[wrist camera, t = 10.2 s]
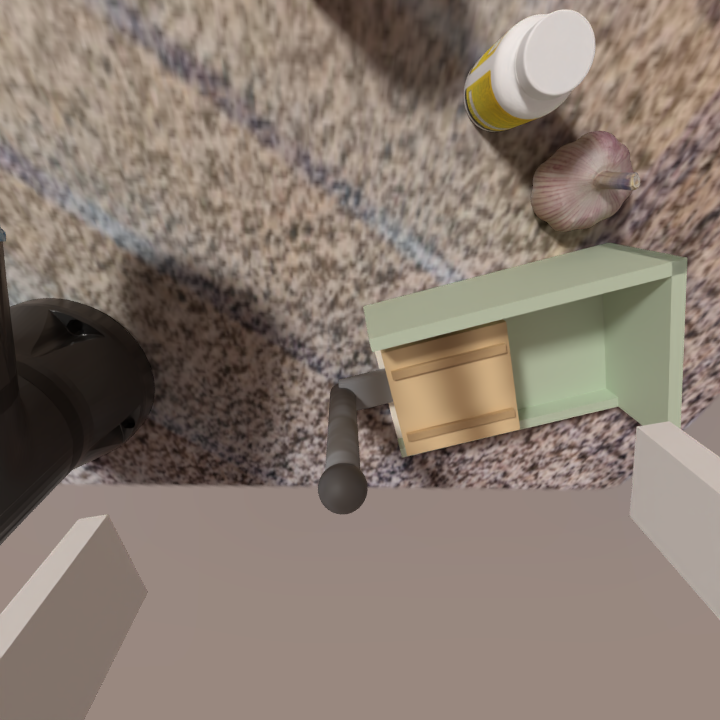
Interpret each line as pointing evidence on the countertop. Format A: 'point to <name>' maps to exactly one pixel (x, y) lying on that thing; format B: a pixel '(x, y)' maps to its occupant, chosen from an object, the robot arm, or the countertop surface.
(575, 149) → the garlic bulb
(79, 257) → the countertop surface
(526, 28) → the supplement bottle
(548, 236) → the countertop surface
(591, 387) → the bay
